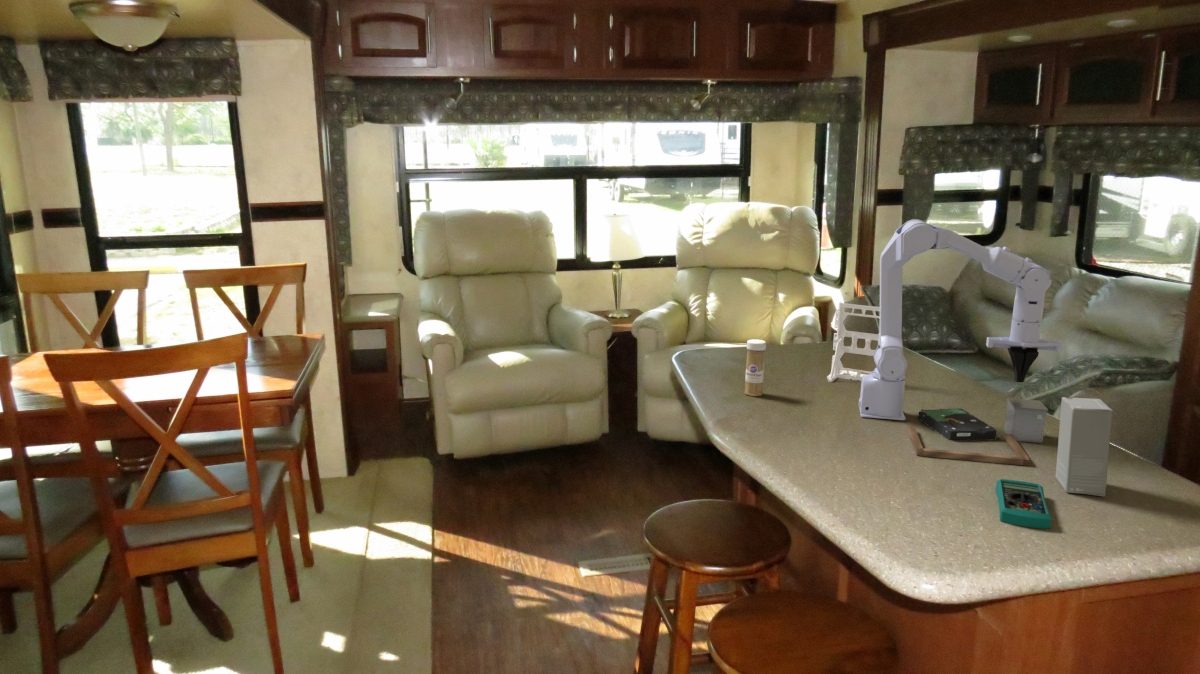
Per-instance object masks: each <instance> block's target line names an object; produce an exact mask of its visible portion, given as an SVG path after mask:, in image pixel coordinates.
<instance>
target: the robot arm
mask: <svg viewBox="0 0 1200 674" xmlns="http://www.w3.org/2000/svg"><path fill="white" fill-rule="evenodd" d="M893 233H894V234H893V235H892V237H891V239H890V240H889V241H888V243H887V244H886V246H885V247H884V249H883V250H882V251H881V253H880V256H879V307H880V311H879V316H880V318H878V319H879V320H878V321H879V322H878V323H879V328H878V329H879V330H878V334H879V337H878V341H877V347H876V349H874V350H875V352H874V356H873V361H874V363H875V366H876V367H875V368H874V369H873V371H871V372H872V375H869V374H866V375H863V376H862V381H860V393H859V395H860V396H859V399H858V409H859V414H860V417H862V418H871V419H872V418H873V419H884V420H885V419H886V420H896V421H906V416H905V413H904V410H903V406H904V405H903V404H904V395H905V386H906V373H907V369H908V362H907V359H906V357H905V356H904V344H903V336H902V335H903V332H902V331H903V328H902V327H903V325H902V324H903V273H904V272H903V270H904V269H903V268H904V265H906V264H907V263H908V262H909V261H910V260H912V259H913V258H914V257H916V256H917V255H920V254H923V253H925V252H927V251H928V250H930V249H931V248H932V247H933V249H935V250H940V249H945V248H947V249H948V248H949V249H951V250H953V251H956V252H957V253H959V254H962V255H964V256H967V257H969V258H970V259H973V260H976V261H977V262H980V263H981V267H982V270H983V271H984V272H986V273H988V274H990V275H993V276H994V277H997V278H999V279H1001V280H1003V281H1006V282H1007V283H1009V284H1015V286H1016V288H1015V289H1016V290H1015V297H1014V301H1013V308H1012V309H1013V310H1012V315H1011V316H1012V317H1011V325H1010V331H1009V336H987V337H986V343H985V345H986V348H990V349H991V348H992V349H993V348H1002V349H1004V348H1006V349H1007V351H1008V352H1007V353H1008V354H1009V356H1010V360H1011V364H1012V367H1013V374H1014V381H1015V382H1017V383H1024V381H1025V379H1026V376H1027V374H1028V372H1029V369H1030V368H1031V366H1032V365H1033V363H1034V362H1035V361H1036V359H1038V358H1039V354H1040V353H1039V351H1040V350H1041V351H1050V352H1051V351H1055V352H1058V353H1060V352H1062V349H1063V342H1062V341H1060V340H1050V339H1041V338H1040V337H1041V331H1042V330H1041V329H1042V324H1043V323H1042V322H1043V317H1044V316H1043V314H1044V308H1045V296H1046V291H1047V290H1048V289H1049V288H1050V287H1051V285H1052V282H1053V281H1052V279H1051V275H1050V272H1049V271H1048V269H1046V268H1045V267H1043V266H1041V265H1039V264H1038V263H1035V262H1034V261H1033V259H1031V258H1029V257H1025V258H1023V257H1022V256H1019V255H1017V254H1015V253H1013V252H1011V251H1012V249H1011V248H1009V247H1007V246H1003V247H1001V246H995V247H992V248H986V247H985V246H982V245H981V244H979V243H977V242H974V241H973V240H971V239H969V238H967V237H965V236H963V235H961V234H959V233H958V232H955V231H953V230H951V229H949V228H947V227H943V226H940V225H936V224H933V223H930V222H929V223H927V222H925V221H924V220H921V219H917V218H912V219H910V220H907V221H906V222H904V223H903V224H902V225H900V226H899V227H897V229H896V230H895V231H894V232H893Z"/></svg>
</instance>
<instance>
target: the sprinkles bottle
mask: <svg viewBox="0 0 1200 674" xmlns="http://www.w3.org/2000/svg"><path fill="white" fill-rule="evenodd" d="M766 349H767V342H766V341H765V340H763V339H757V338H756V339H753V338H752V339H748V340H747V341H746V350H747V351H746V364H745V386H744V387H745V388H744V392H743V393H744V394H745V395H747V396H749V397H760V396H762V395H763V393H764V391H763V389H764V387H763V386H764V376H765V375H764V374H765V356H766V353H765V352H766Z"/></svg>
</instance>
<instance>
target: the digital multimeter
mask: <svg viewBox="0 0 1200 674" xmlns="http://www.w3.org/2000/svg"><path fill="white" fill-rule="evenodd" d="M995 493H996V496H997V500H998V501H997V502H998V505H999V506H998V507H999V508H998V509H999V521H1000V522H1001V523H1004V524H1005V523H1006V524H1009V525H1014V526H1019V527H1025V528H1031V529H1039V530H1049V529H1051V524H1052V517H1051V514H1050V512H1049V508H1048V505H1047V503H1046V498H1045V492H1044V486H1042V485H1041V484H1039V483H1035V482H1034V483H1033V482H1028V481H1023V480H1021V481H1020V480H1013V479H1007V478H1006V479H1004V478H1001V479H997V480H996V483H995Z"/></svg>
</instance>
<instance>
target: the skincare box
mask: <svg viewBox="0 0 1200 674" xmlns="http://www.w3.org/2000/svg"><path fill="white" fill-rule="evenodd" d="M1060 403H1061V404H1060V405H1061V406H1060V416H1059V430H1058V431H1059V432H1058V442H1057V453H1056V454H1057V455H1056V465H1055V467H1056V468H1055V475H1054V476H1055V479H1056V480H1057V481H1058V482H1059V484H1060V486H1061V487H1062V488H1063V490H1064V491H1065V492H1066V493H1069V494H1070V493H1071V494H1082V495H1089V496H1097V497H1105V496H1106V494H1107V493H1106V491H1107V479H1108V468H1109V467H1108V465H1109V455H1110V445H1111V442H1110V441H1111V431H1112V423H1113V422H1112V421H1113V420H1112V419H1113V412H1114V410H1113V409H1112V408H1110V407H1109V406H1108V404H1106V403H1105V402H1104V401H1103V400H1102V399H1101V398H1089V397H1087V398H1085V397H1083V398H1081V397H1067V396H1066V397H1065V396H1062V397H1061V402H1060Z"/></svg>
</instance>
